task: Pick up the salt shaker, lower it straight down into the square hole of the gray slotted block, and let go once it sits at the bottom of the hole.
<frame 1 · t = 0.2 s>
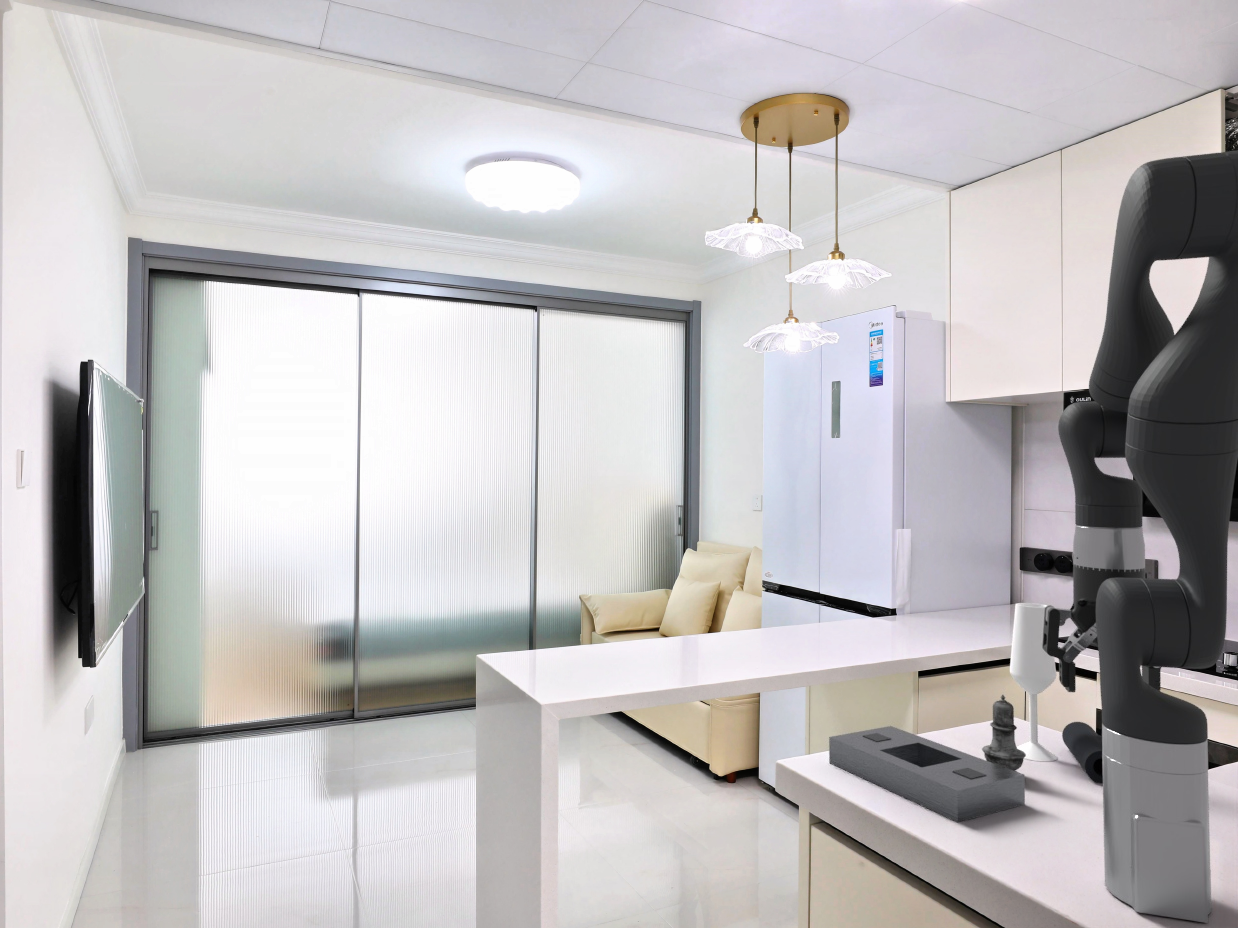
hand: (1108, 693, 96), 18 cm above the countertop, tool pointing down, fingers open, 8 cm apart
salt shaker: (1004, 776, 116), on the countertop
gray slotted block: (920, 781, 113), on the countertop
pipe connector: (1115, 771, 119), on the countertop
champagne flute: (1033, 755, 125), on the countertop
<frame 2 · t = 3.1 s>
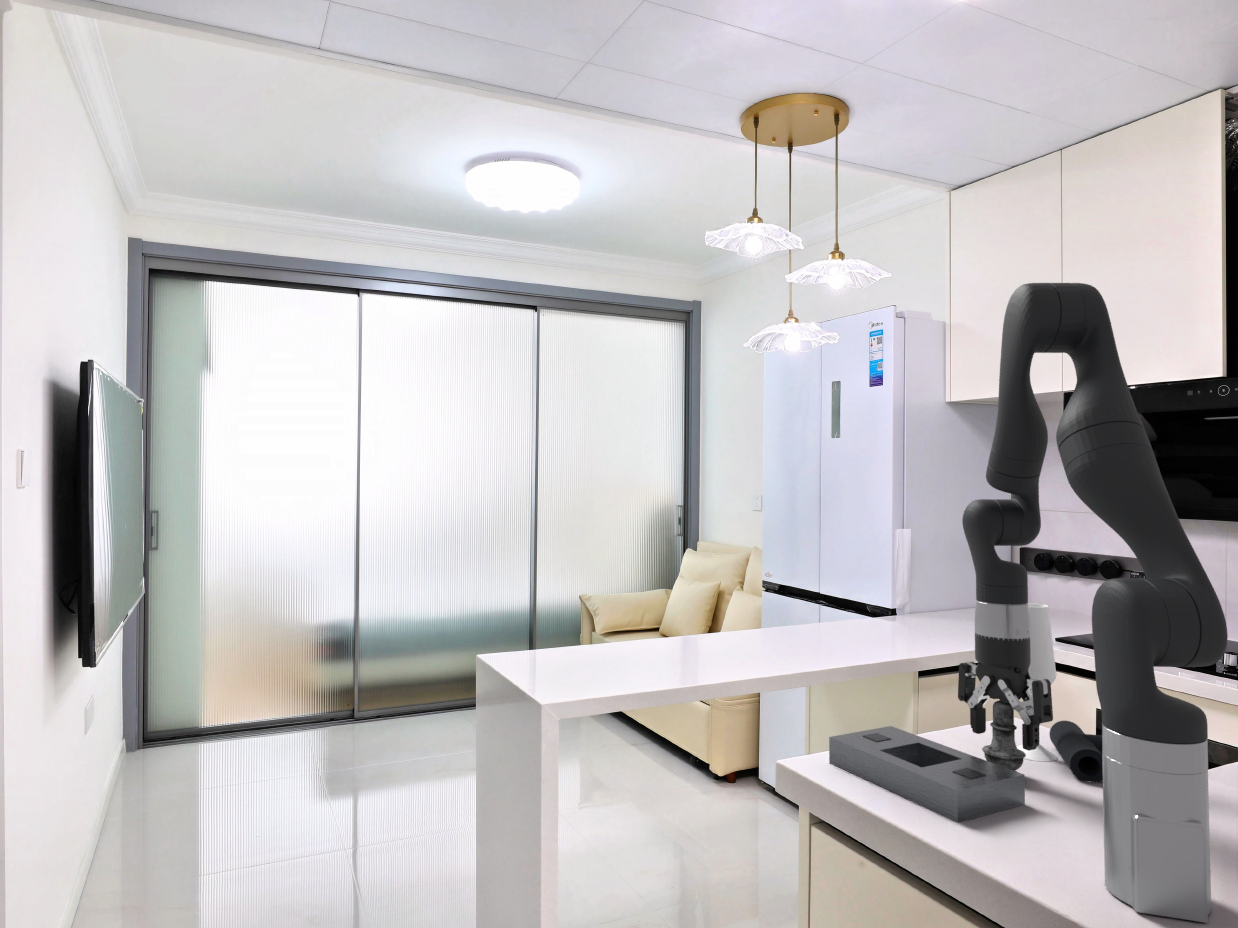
hand: (1003, 740, 116), 5 cm above the countertop, tool pointing down, fingers open, 8 cm apart
pipe connector: (1101, 770, 120), on the countertop
everything else where it was.
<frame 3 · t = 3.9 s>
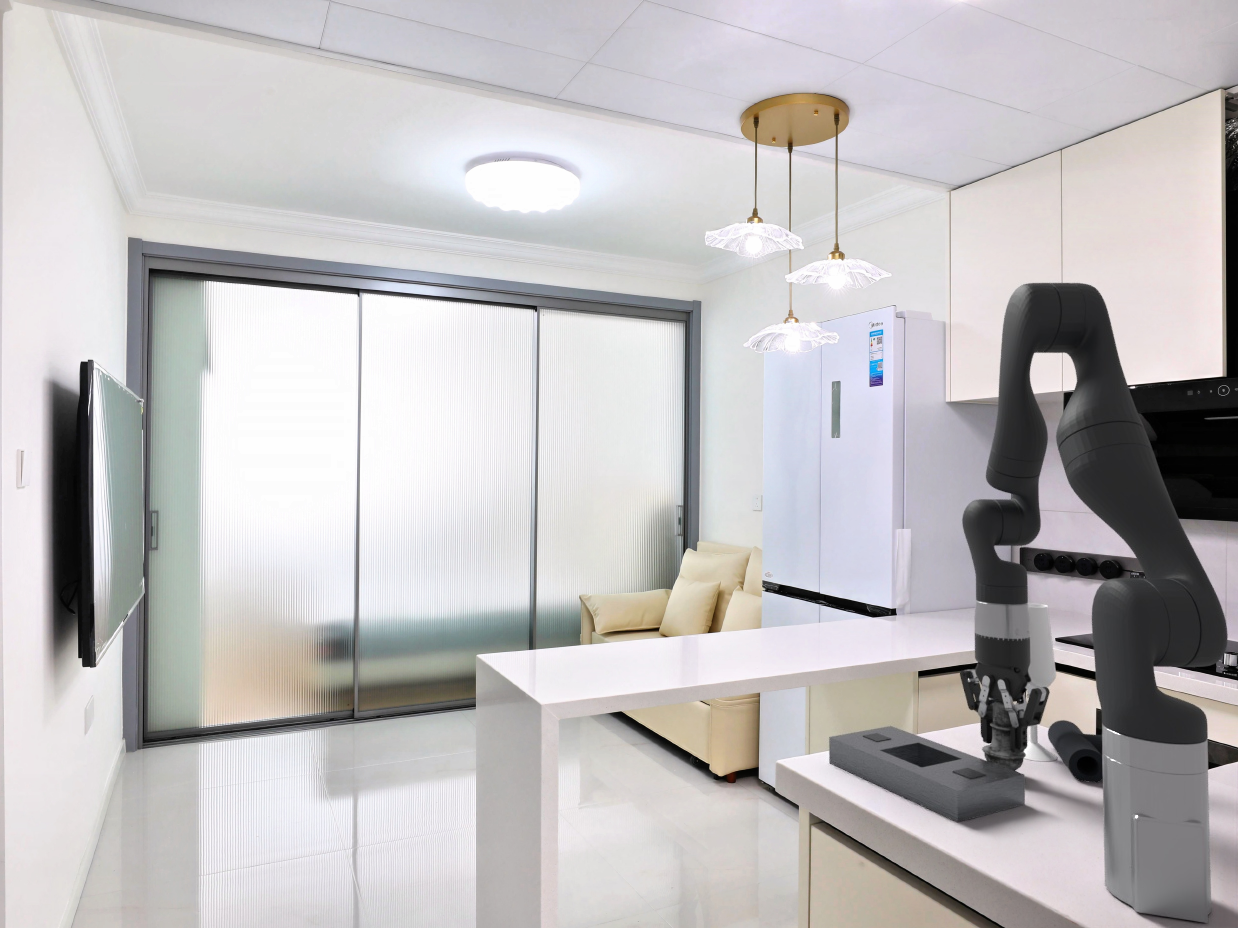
hand: (1003, 746, 116), 4 cm above the countertop, tool pointing down, fingers closed on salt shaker, 4 cm apart
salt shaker: (1003, 776, 116), on the countertop, touching gripper
everything else where it was.
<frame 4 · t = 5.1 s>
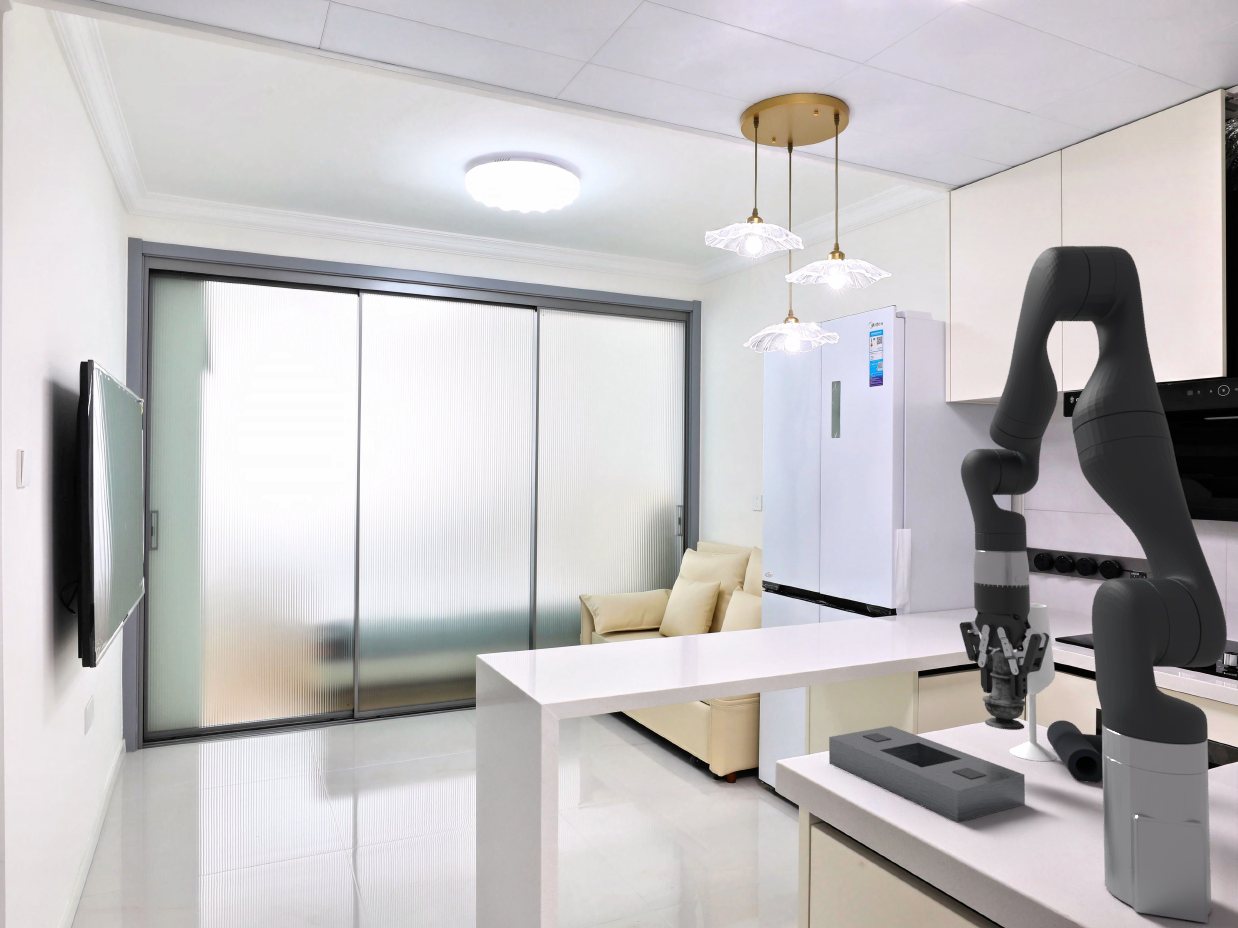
hand: (1003, 695, 116), 12 cm above the countertop, tool pointing down, fingers closed on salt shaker, 4 cm apart
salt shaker: (1004, 725, 116), point 7 cm above the countertop, touching gripper
everything else where it was.
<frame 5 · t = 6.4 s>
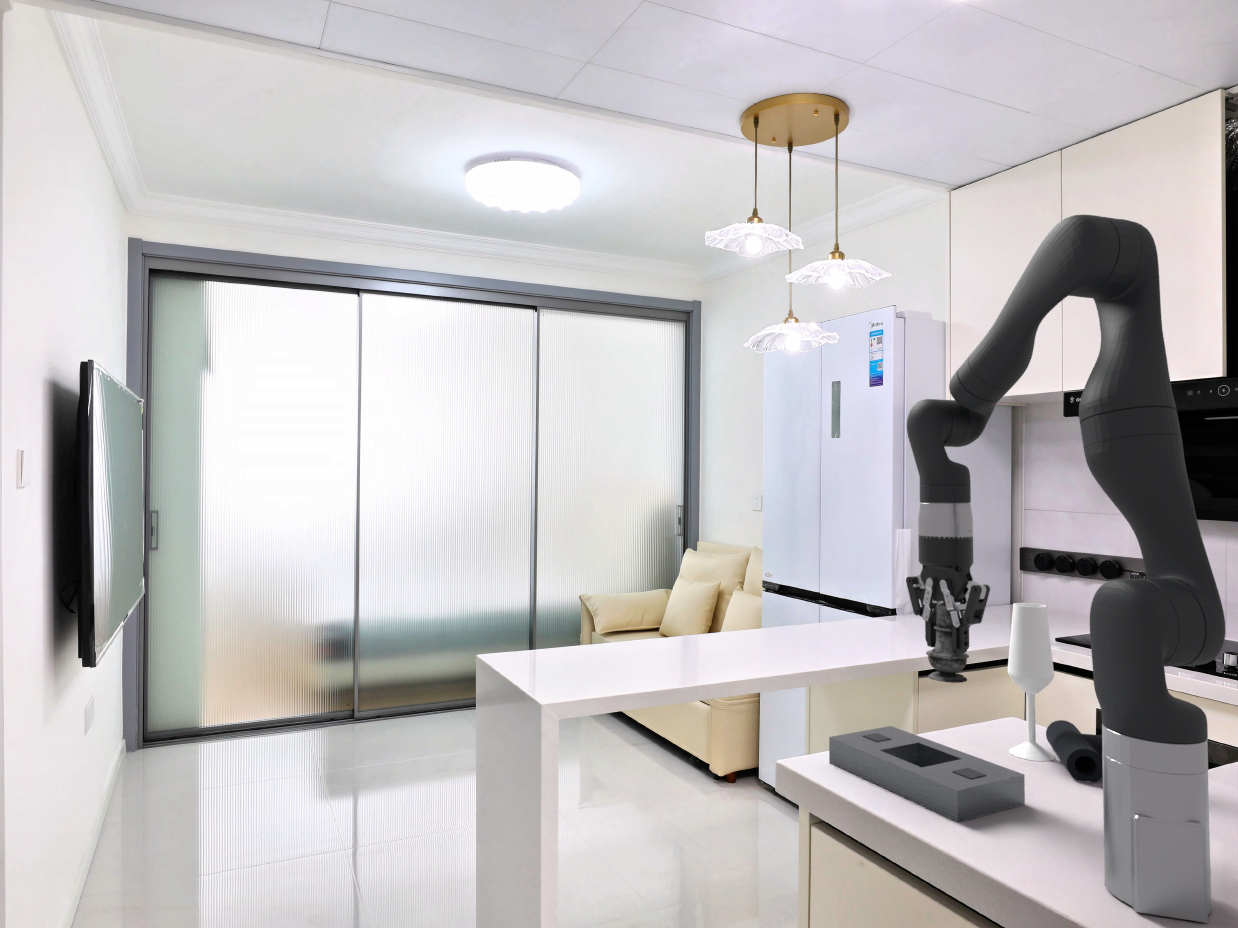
hand: (946, 648, 115), 19 cm above the countertop, tool pointing down, fingers closed on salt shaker, 4 cm apart
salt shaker: (947, 679, 114), point 15 cm above the countertop, touching gripper
everything else where it was.
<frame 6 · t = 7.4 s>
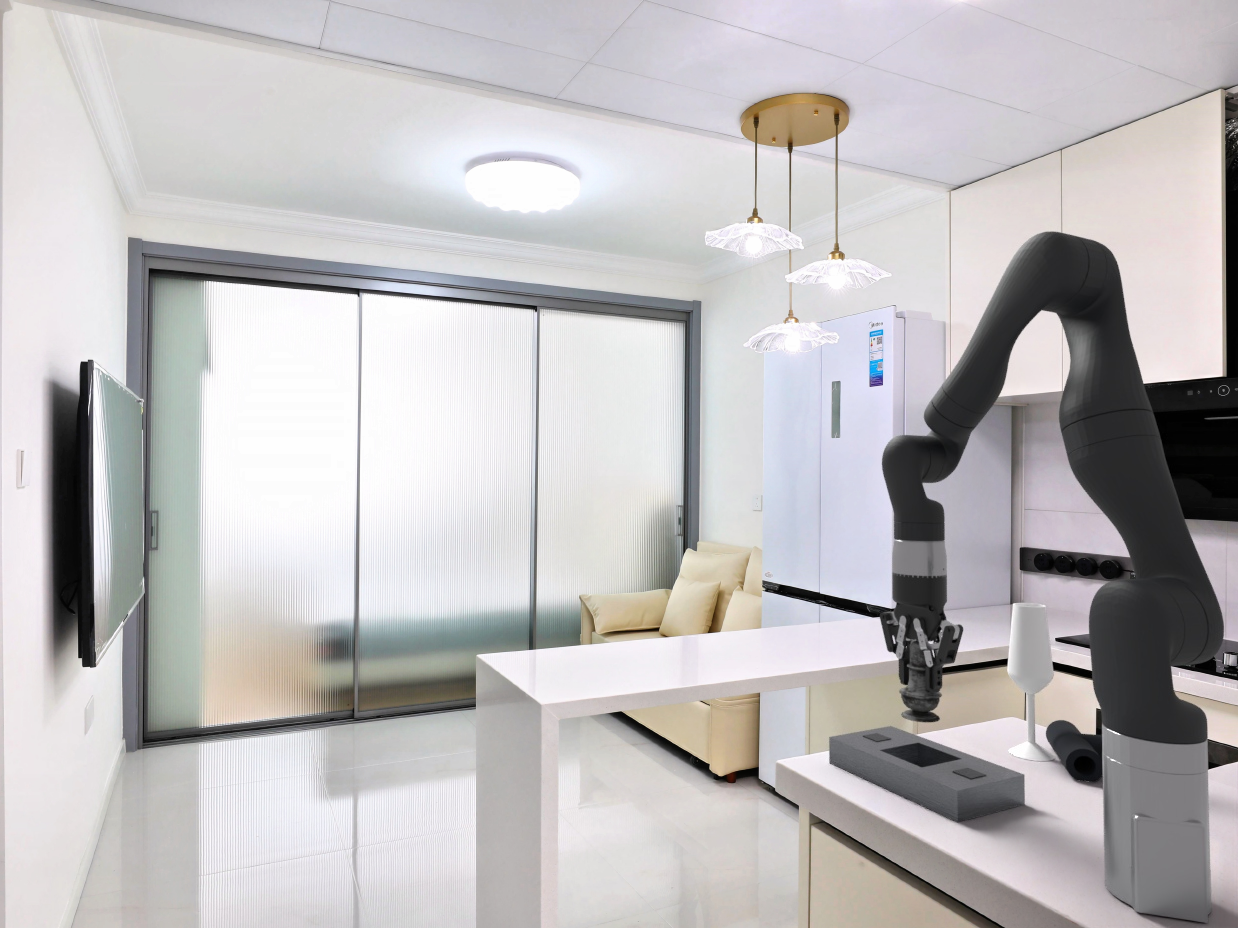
hand: (919, 687, 114), 14 cm above the countertop, tool pointing down, fingers closed on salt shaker, 4 cm apart
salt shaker: (920, 718, 113), point 9 cm above the countertop, touching gripper
everything else where it was.
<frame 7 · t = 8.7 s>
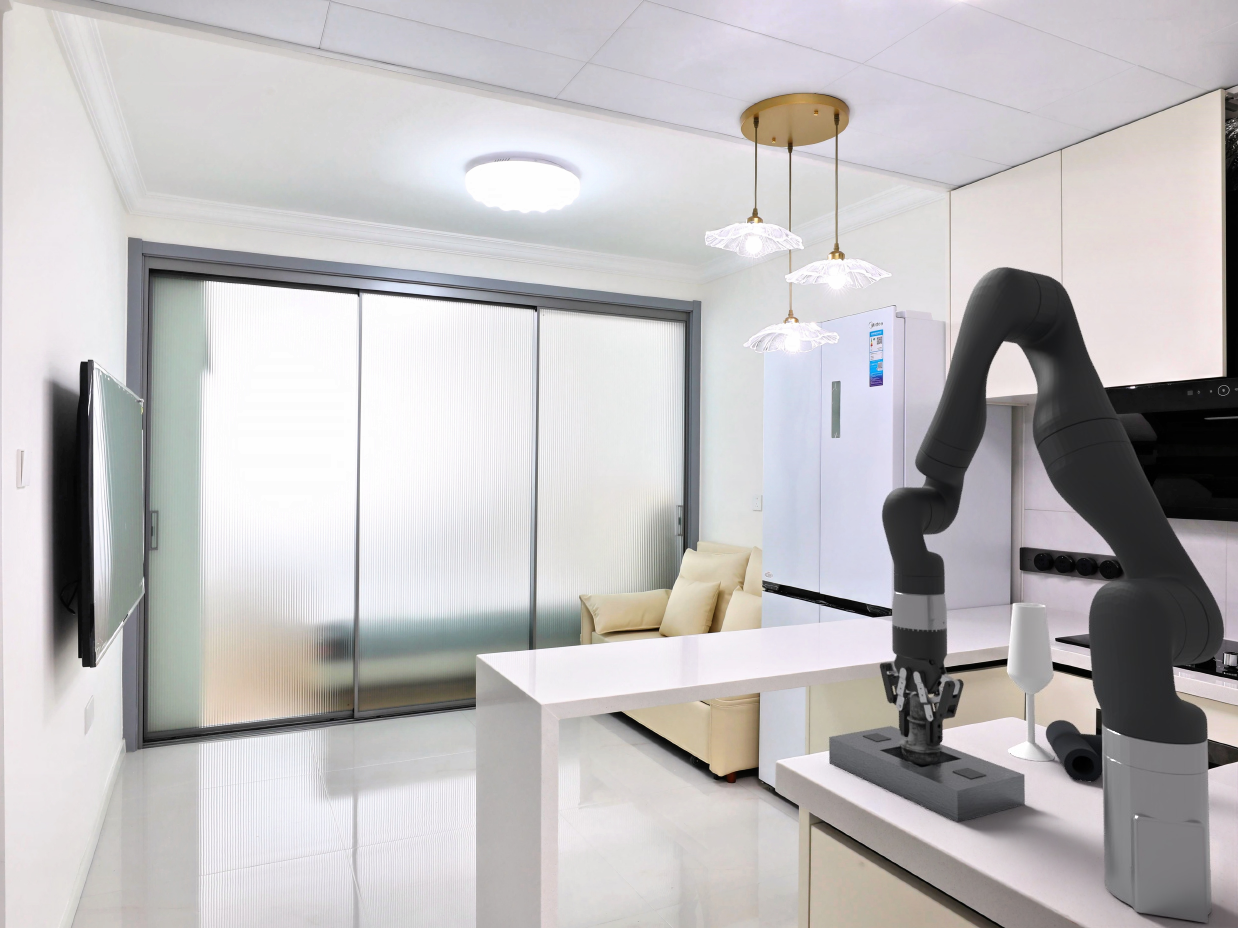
hand: (920, 739, 113), 6 cm above the countertop, tool pointing down, fingers closed on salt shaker, 4 cm apart
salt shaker: (920, 771, 113), point 2 cm above the countertop, touching gripper
everything else where it was.
when the fingers open (5 cm above the countertop, at t = 9.2 s): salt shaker stays where it is, on the countertop.
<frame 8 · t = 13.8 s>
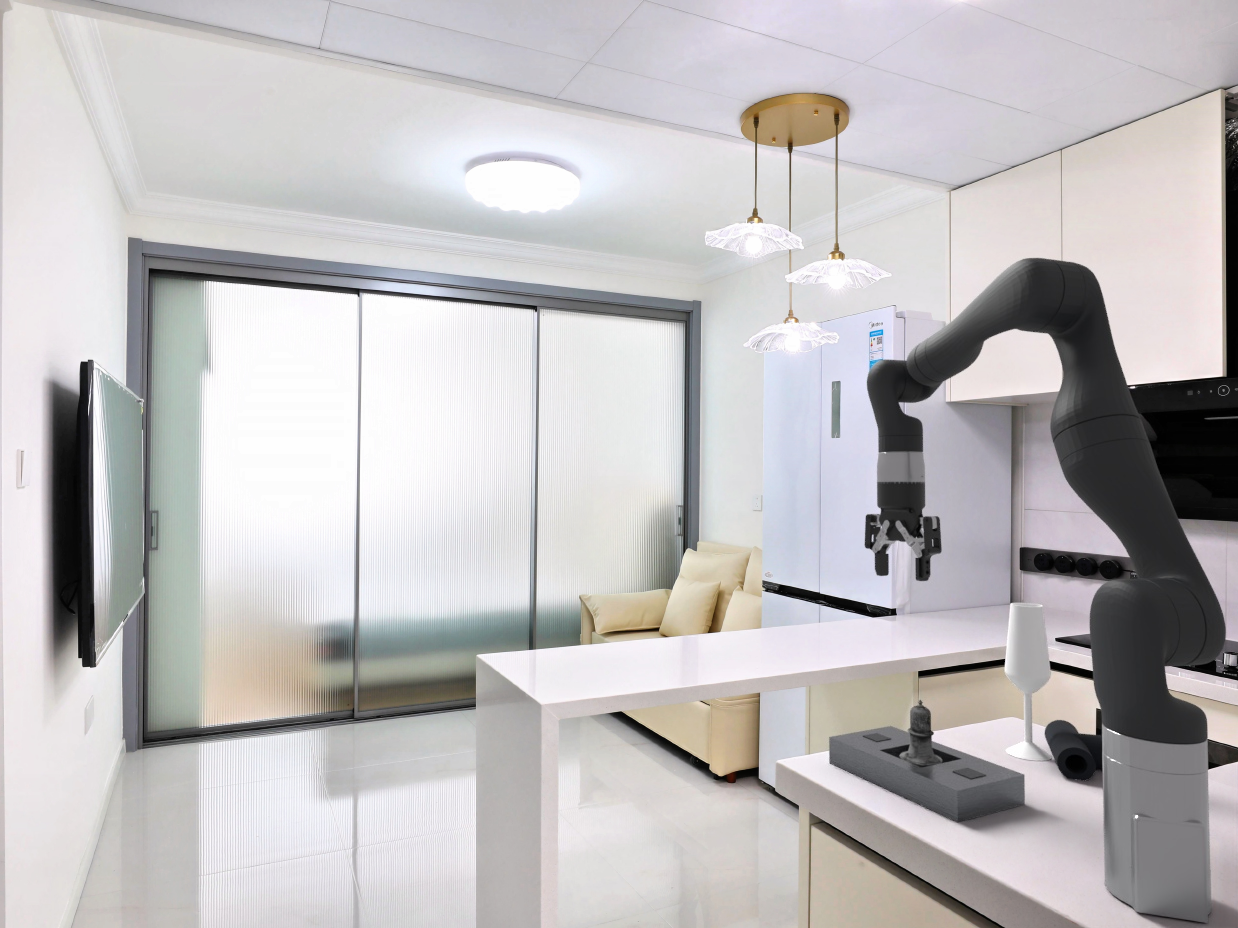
hand: (901, 578, 128), 28 cm above the countertop, tool pointing down, fingers open, 8 cm apart
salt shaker: (921, 783, 113), on the countertop
at the end: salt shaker 0.1 cm off-centre on the gray slotted block, point 0.0 cm above the gray slotted block's base; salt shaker tilted 0°; the gripper is holding nothing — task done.
